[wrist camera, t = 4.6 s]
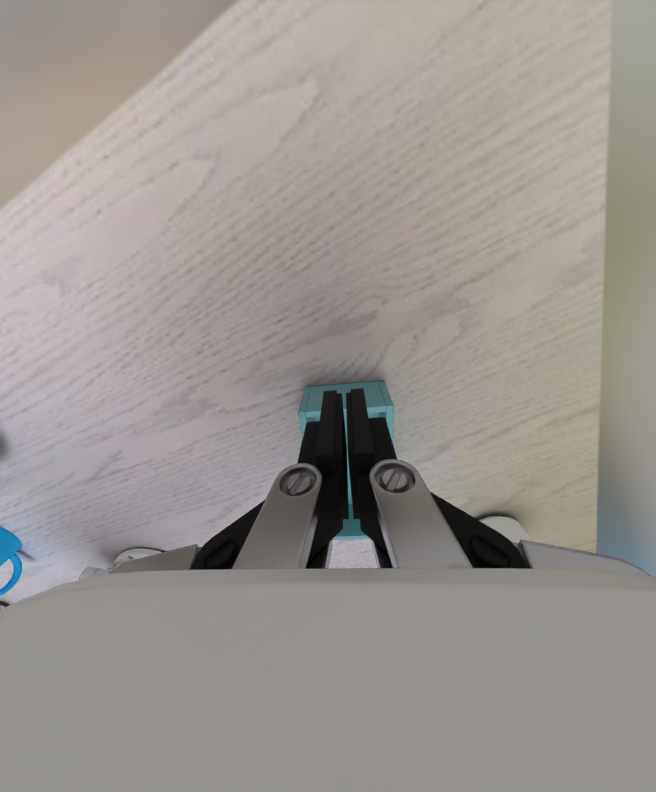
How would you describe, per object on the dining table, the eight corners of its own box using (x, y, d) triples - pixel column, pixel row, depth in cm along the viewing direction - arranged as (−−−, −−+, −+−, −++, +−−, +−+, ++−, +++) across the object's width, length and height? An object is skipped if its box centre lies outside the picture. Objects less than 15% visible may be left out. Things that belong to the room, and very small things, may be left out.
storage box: (305, 386, 25) (298, 412, 21) (384, 380, 25) (393, 405, 20) (325, 504, 34) (322, 540, 29) (384, 501, 33) (391, 538, 29)
